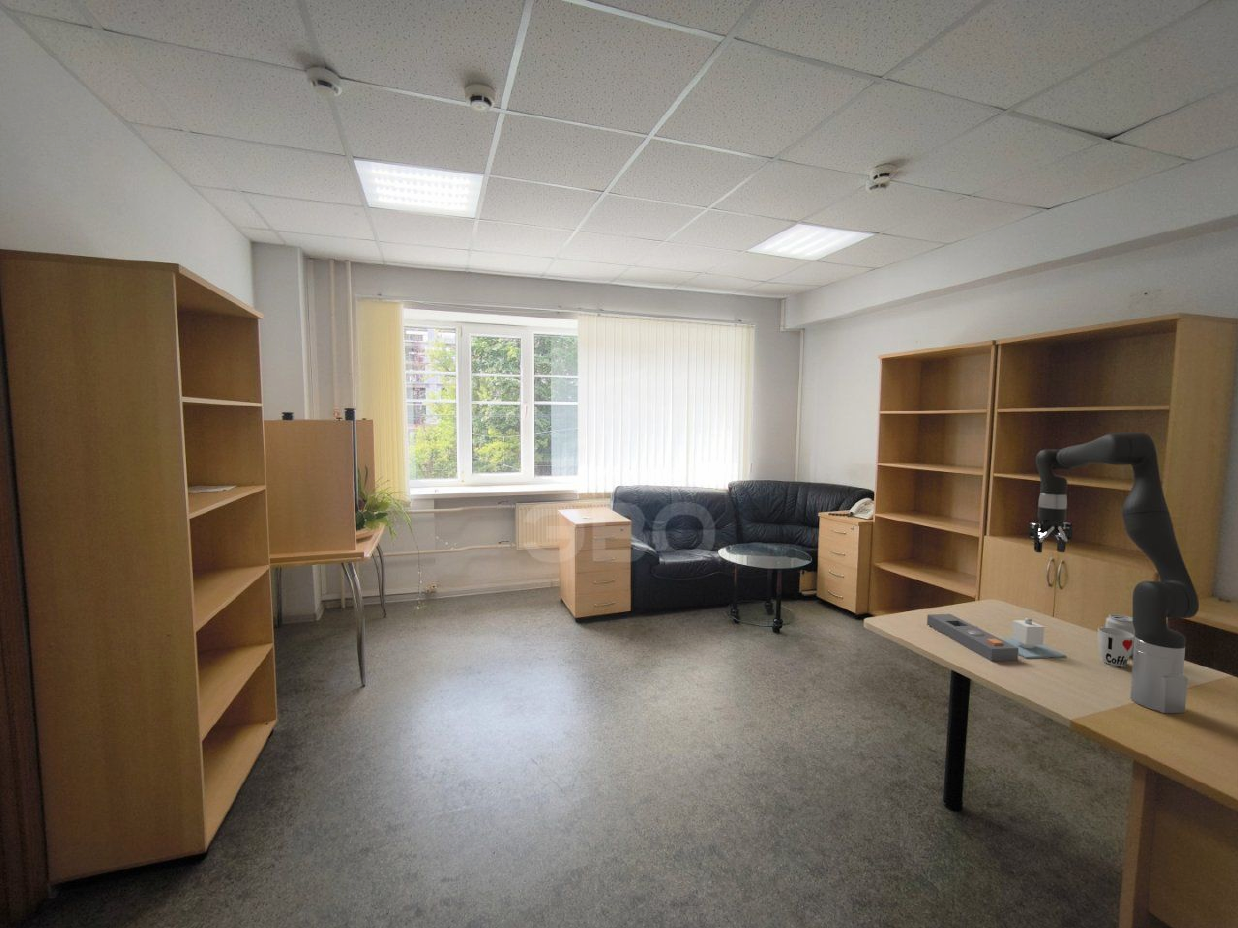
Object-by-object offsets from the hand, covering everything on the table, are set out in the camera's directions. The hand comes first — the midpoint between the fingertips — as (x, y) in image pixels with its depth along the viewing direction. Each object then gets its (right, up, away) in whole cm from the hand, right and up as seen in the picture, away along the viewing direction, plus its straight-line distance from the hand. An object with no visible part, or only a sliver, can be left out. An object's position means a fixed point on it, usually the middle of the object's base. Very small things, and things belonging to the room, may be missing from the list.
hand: (1049, 551), depth 180 cm
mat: (-15, -31, -9) cm, 36 cm away
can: (+13, -31, -12) cm, 36 cm away
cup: (+4, -32, -20) cm, 37 cm away
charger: (-15, -30, -9) cm, 35 cm away
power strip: (-31, -30, -3) cm, 43 cm away
